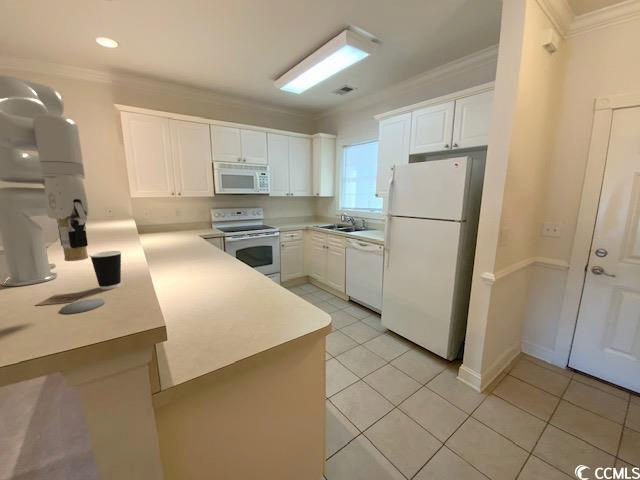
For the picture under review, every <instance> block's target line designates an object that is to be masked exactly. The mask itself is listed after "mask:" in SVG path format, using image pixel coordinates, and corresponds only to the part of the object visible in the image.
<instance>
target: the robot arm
mask: <svg viewBox="0 0 640 480" xmlns="http://www.w3.org/2000/svg"><path fill="white" fill-rule="evenodd" d="M64 110H65V104H64V101H63V98H62V96H61V95H60V93H59V92H58V91H57V90H55V89H54V88H52V87H51V86H49V85H48V86H47V85H44V84H41V83H36V82H33V81H30V80H29V81H28V80H26V79H23V78H18V77H14V76H11V75H4V74H2V75H0V182H3V183H10V184H28V185H32V184H33V185H35V184H36V185H42V186H43V187H20V186H18V187H16V186H12V187H11V186H5V187H0V239H1V243H2V247H3V252H4V258H5V262H6V263H5V264H6V268H7V274H8V278H7V279H8V280H7V279H4V280H3V281H1V282H2V284H3V283H4V282H5V281H6V280H7V281H6V282H5V283H4V285H3V286H5V287H18V286H28V285H34V284H40V283H45V282H47V281H50V280H51V281H52V280H54V279H56V278H57V277H58V274H57V272H51V270H53V269H55V268H56V267H57V265H56V264H55V263H49V257H48V252H47V251H48V250H47V245H46V244H47V243H46V239H45V233H44V229H43V227H42V226H41V225H40V224H39V223H38V222H36V221H35V220H33V219H31V217H43V216H44V217H45V216H47V217H48V218H50V219H53V220H56V222H57V223H56V224H57V229H58V234H59V240H60V246H61V247H63V246H62V241H61V235H60V229H59V227H60V226H59V220H58V219H66V218H67V221H68V225H69V229H70V232H68V235H69V242H70V247H71V248H78V247H86V248H87V247H88V246H89V243H88V238H87V227H86V223H87V220H88V216H89V206H88V198H87V194H86V189H85V185H84V181H83V180H84V179H86V176H85V169H84V162H83V155H82V147H81V140H80V132H79V128H78V125H77V123H76V122H75V121H74V120H72V119H70V118H68V117H64V116H63V115H64ZM28 151H30V152H37V155H31V154H29V153H28ZM70 216H77V218H71V217H70ZM73 221H74V224H73ZM9 277H10V278H9Z"/></svg>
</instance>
